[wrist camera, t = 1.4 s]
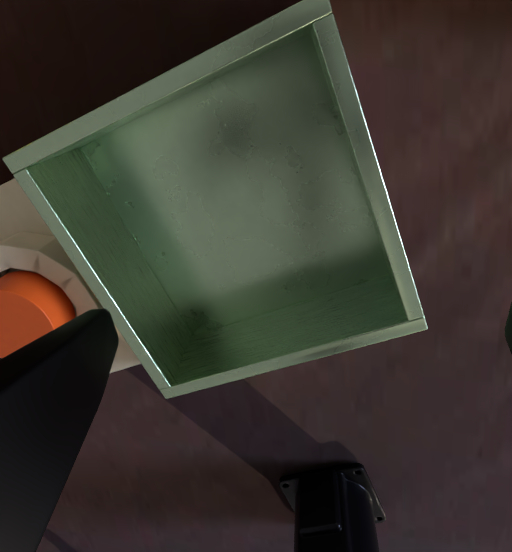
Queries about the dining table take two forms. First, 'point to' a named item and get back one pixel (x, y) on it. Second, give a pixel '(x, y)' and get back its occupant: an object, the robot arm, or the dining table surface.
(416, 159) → the dining table surface
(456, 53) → the dining table surface
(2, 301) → the button
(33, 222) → the control block
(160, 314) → the warming box
